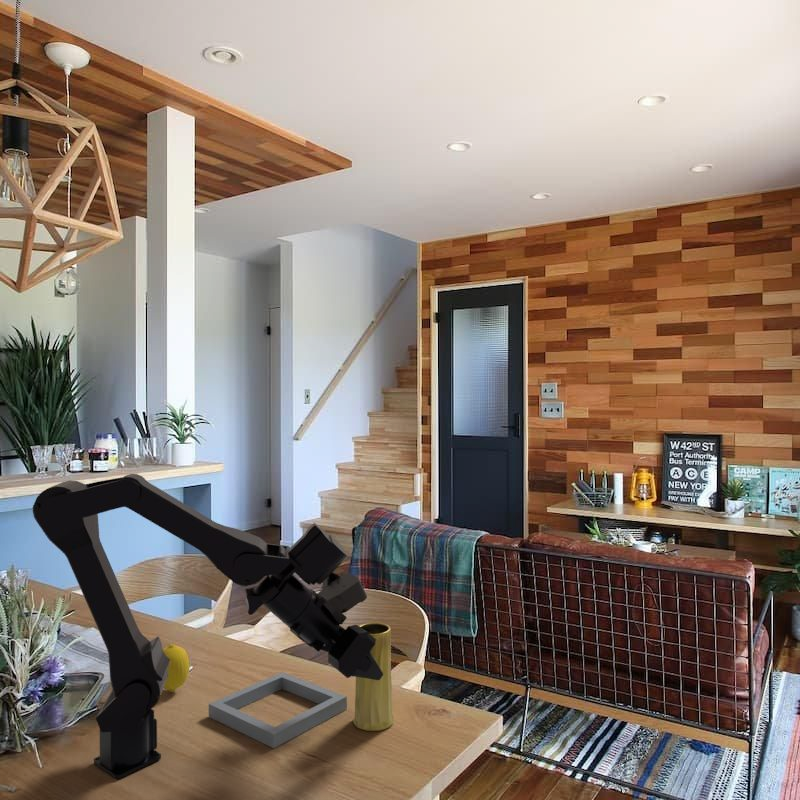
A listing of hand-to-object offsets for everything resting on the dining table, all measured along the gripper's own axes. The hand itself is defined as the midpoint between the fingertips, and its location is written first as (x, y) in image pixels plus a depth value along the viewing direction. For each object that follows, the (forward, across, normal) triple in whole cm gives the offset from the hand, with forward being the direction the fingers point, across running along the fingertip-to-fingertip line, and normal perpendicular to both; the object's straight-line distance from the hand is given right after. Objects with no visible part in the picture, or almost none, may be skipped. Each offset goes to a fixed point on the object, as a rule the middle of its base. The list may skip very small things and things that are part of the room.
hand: (366, 666), depth 102 cm
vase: (+7, 0, +6) cm, 9 cm away
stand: (-1, +10, +13) cm, 17 cm away
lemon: (-10, +26, +22) cm, 36 cm away
